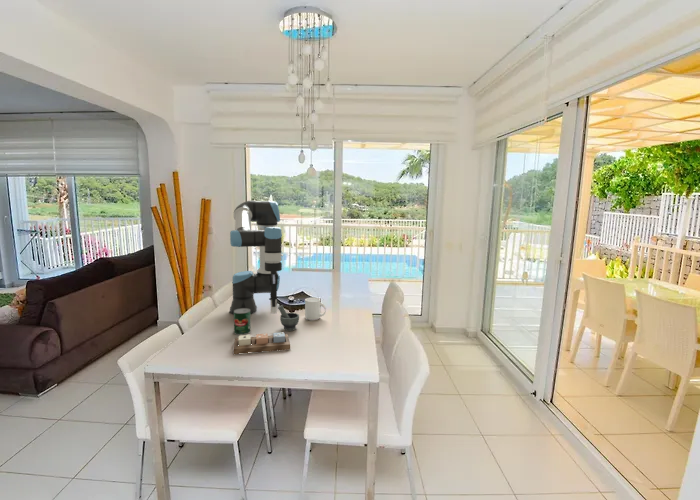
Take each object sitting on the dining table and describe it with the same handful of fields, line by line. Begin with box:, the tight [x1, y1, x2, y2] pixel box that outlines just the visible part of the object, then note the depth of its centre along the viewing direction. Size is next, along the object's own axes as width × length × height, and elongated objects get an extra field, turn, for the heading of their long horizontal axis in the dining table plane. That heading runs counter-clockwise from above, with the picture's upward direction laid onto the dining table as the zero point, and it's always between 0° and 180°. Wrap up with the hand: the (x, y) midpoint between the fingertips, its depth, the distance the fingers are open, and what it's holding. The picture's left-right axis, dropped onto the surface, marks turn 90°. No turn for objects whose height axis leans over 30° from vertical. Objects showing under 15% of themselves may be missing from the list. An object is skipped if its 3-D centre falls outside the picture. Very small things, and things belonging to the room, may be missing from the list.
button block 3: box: [272, 331, 285, 343], centre depth 160 cm, size 5×5×3 cm
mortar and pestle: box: [277, 304, 300, 332], centre depth 180 cm, size 11×9×12 cm
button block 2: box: [255, 332, 269, 344], centre depth 158 cm, size 5×5×3 cm
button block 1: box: [238, 334, 252, 346], centre depth 156 cm, size 5×5×3 cm
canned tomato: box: [233, 308, 252, 336], centre depth 174 cm, size 8×8×11 cm
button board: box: [232, 333, 291, 355], centre depth 158 cm, size 24×12×2 cm, turn 106°
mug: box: [304, 297, 327, 321], centre depth 197 cm, size 9×12×11 cm
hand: (273, 313), depth 160 cm, fingers closed
